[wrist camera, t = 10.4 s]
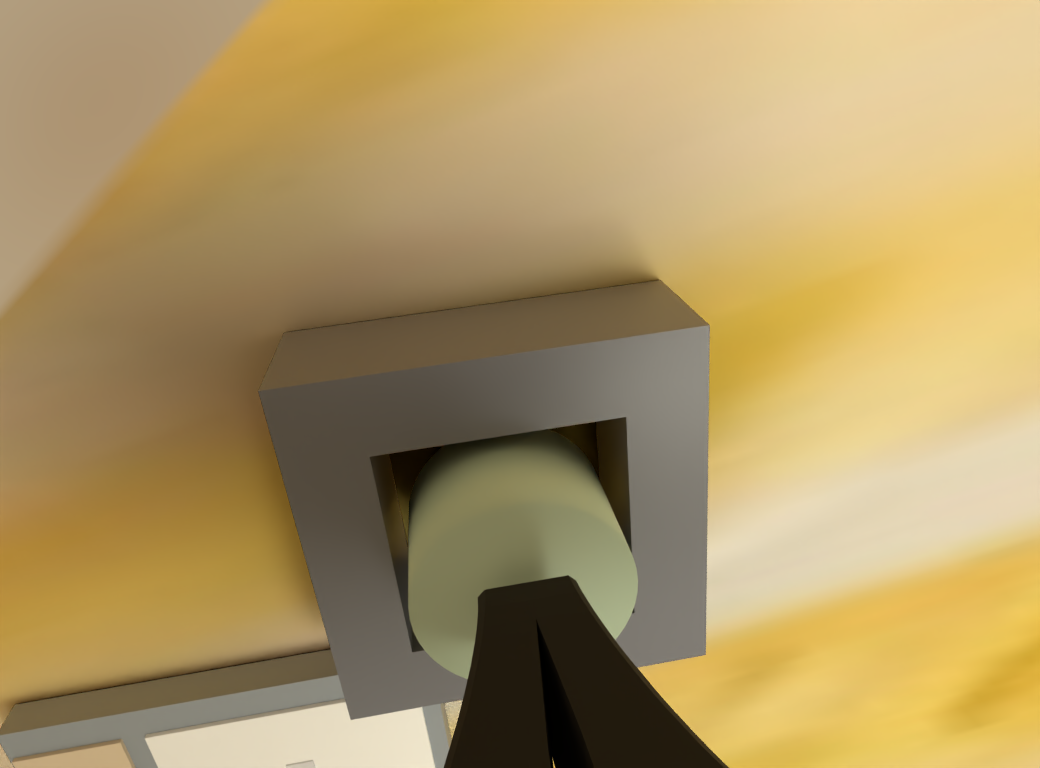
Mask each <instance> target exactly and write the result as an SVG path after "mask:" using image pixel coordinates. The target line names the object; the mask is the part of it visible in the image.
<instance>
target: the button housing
mask: <svg viewBox="0 0 1040 768" xmlns="http://www.w3.org/2000/svg"><path fill="white" fill-rule="evenodd" d="M709 334H710V325H709V324H708V323H707V322H706V321H704V320H703V319H702V318H701V317H700V316H699V315H698V314H697V313H696V312H695V311H694V310H693V309H691V308H690V307H689V306H688V305H687V304H686V303H685V302H684V301H683V300H682V299H681V298H680V297H678V296H677V295H676V294H675V293H674V292H673V291H672V290H671V289H670V288H669V287H668V286H666V285H665V284H664V283H663V282H662V281H661V280H657V281H650V282H643V283H636V284H629V285H621V286H614V287H607V288H600V289H593V290H586V291H579V292H571V293H564V294H557V295H550V296H543V297H536V298H529V299H521V300H514V301H507V302H500V303H493V304H486V305H478V306H471V307H464V308H457V309H450V310H443V311H436V312H428V313H421V314H414V315H407V316H400V317H393V318H386V319H378V320H371V321H364V322H357V323H350V324H343V325H335V326H328V327H321V328H314V329H307V330H300V331H293V332H285V333H284V334H283V336H282V338H281V341H280V343H279V345H278V347H277V350H276V352H275V354H274V356H273V359H272V361H271V363H270V365H269V368H268V370H267V372H266V375H265V377H264V379H263V381H262V384H261V386H260V388H259V390H258V392H259V396H260V399H261V403H262V406H263V410H264V414H265V417H266V421H267V424H268V428H269V431H270V435H271V438H272V442H273V446H274V449H275V453H276V456H277V460H278V463H279V467H280V470H281V474H282V478H283V481H284V485H285V488H286V492H287V495H288V499H289V502H290V506H291V510H292V513H293V517H294V520H295V524H296V527H297V531H298V534H299V538H300V542H301V545H302V549H303V552H304V556H305V559H306V563H307V566H308V570H309V574H310V577H311V581H312V584H313V588H314V591H315V595H316V598H317V602H318V606H319V609H320V613H321V616H322V620H323V623H324V627H325V630H326V634H327V637H328V641H329V645H330V648H331V652H332V655H333V659H334V662H335V666H336V669H337V673H338V677H339V680H340V684H341V687H342V691H343V694H344V698H345V701H346V705H347V709H348V712H349V716H350V719H351V720H354V719H359V718H365V717H370V716H376V715H381V714H387V713H392V712H397V711H403V710H408V709H414V708H419V707H425V706H430V705H436V704H441V703H446V702H452V701H457V700H463V697H464V693H465V689H466V684H467V680H468V679H465V678H463V677H460V676H458V675H456V674H454V673H452V672H450V671H448V670H447V669H445V668H443V667H442V666H441V665H439V664H438V663H437V662H436V661H434V660H433V659H432V658H431V657H430V656H429V655H428V654H427V653H426V652H425V650H424V649H423V647H422V646H421V645H420V643H419V642H418V640H417V638H416V636H415V634H414V632H413V629H412V626H411V622H410V617H409V610H408V545H407V540H406V535H405V530H404V525H403V520H402V515H401V510H400V506H399V501H398V496H397V491H396V486H395V481H394V476H393V471H392V466H391V462H390V457H389V454H390V453H397V452H403V451H410V450H416V449H422V448H429V447H435V446H442V445H448V444H455V443H461V442H468V441H474V440H481V439H487V438H493V437H500V436H506V435H513V434H519V433H526V432H532V431H539V430H545V429H552V428H558V427H565V426H571V425H577V424H584V423H590V422H596V430H597V446H598V462H599V478H600V483H601V485H602V487H603V490H604V492H605V494H606V496H607V499H608V501H609V503H610V506H611V508H612V510H613V512H614V515H615V517H616V519H617V521H618V524H619V526H620V528H621V531H622V533H623V535H624V537H625V540H626V542H627V544H628V546H629V549H630V551H631V553H632V556H633V558H634V561H635V565H636V568H637V576H638V592H637V597H636V602H635V606H634V609H633V611H632V614H631V616H630V618H629V620H628V622H627V624H626V626H625V627H624V629H623V630H622V632H621V633H620V635H619V636H618V637H617V638H616V642H617V643H618V644H619V646H620V647H621V648H622V650H623V651H624V652H625V653H626V655H627V656H628V657H629V659H630V660H631V661H632V662H633V663H634V665H635V666H636V667H642V666H648V665H653V664H659V663H664V662H670V661H675V660H681V659H686V658H691V657H697V656H702V655H706V581H707V498H708V416H709Z"/></svg>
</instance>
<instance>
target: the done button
mask: <svg viewBox="0 0 1040 768" xmlns="http://www.w3.org/2000/svg"><path fill="white" fill-rule="evenodd" d="M567 575H569V576H570V577H572V578H573V579H575V580H576V581H577V583H578V585H579V587H580V589H581V590H582V592H583V594H584V595H585V597H586V598H587V600H588V602H589V603H590V605H591V606H592V608H593V609H594V611H595V612H596V614H597V615H598V617H599V618H600V620H601V621H602V623H603V624H604V625H605V627H606V628H607V629H608V631H609V632H610V634H611V635H612V636H613V638H614V639H615V640H616V638H617V637H618V636H619V635H620V633H621V632H622V630H623V629H624V627H625V626H626V624H627V622H628V620H629V618H630V616H631V614H632V611H633V609H634V606H635V602H636V597H637V592H638V576H637V568H636V565H635V561H634V558H633V556H632V553H631V551H630V549H629V546H628V544H627V542H626V540H625V537H624V535H623V533H622V531H621V528H620V526H619V524H618V521H617V519H616V517H615V515H614V512H613V510H612V508H611V506H610V503H609V501H608V499H607V496H606V494H605V492H604V490H603V487H602V485H601V483H600V481H599V478H598V476H597V474H596V472H595V470H594V467H593V465H592V463H591V462H590V460H589V459H588V458H587V456H586V455H585V454H584V453H583V451H582V450H581V449H580V448H579V447H578V446H577V445H575V444H574V443H573V442H571V441H570V440H569V439H567V438H566V437H564V436H562V435H561V434H559V433H557V432H554V431H552V430H549V429H545V430H539V431H532V432H526V433H519V434H513V435H506V436H500V437H493V438H487V439H481V440H474V441H468V442H461V443H455V444H448V445H444V446H443V447H442V448H441V449H440V450H438V451H437V452H436V453H435V454H434V455H433V456H432V457H431V458H430V459H429V460H428V461H427V463H426V464H425V466H424V467H423V468H422V470H421V471H420V473H419V475H418V477H417V479H416V480H415V483H414V486H413V488H412V491H411V495H410V500H409V531H408V610H409V617H410V622H411V626H412V629H413V632H414V634H415V636H416V638H417V640H418V642H419V643H420V645H421V646H422V647H423V649H424V650H425V652H426V653H427V654H428V655H429V656H430V657H431V658H432V659H433V660H434V661H436V662H437V663H438V664H439V665H441V666H442V667H443V668H445V669H447V670H448V671H450V672H452V673H454V674H456V675H458V676H460V677H463V678H465V679H468V676H469V671H470V667H471V661H472V656H473V650H474V644H475V637H476V630H477V618H478V596H479V595H480V594H481V593H482V592H483V591H484V590H485V589H491V588H497V587H503V586H509V585H514V584H520V583H526V582H532V581H538V580H544V579H549V578H555V577H561V576H567Z"/></svg>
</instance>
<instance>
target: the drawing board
mask: <svg viewBox="0 0 1040 768" xmlns="http://www.w3.org/2000/svg"><path fill="white" fill-rule="evenodd" d="M451 741H452V739H451V734H450V729H449V724H448V719H447V714H446V709H445V704H444V703H441V704H436V705H430V706H425V707H419V708H414V709H408V710H403V711H397V712H392V713H387V714H381V715H376V716H370V717H365V718H359V719H354V720H351V719H350V716H349V712H348V709H347V705H346V701H345V698H344V694H343V691H342V687H341V684H340V680H339V677H338V673H337V669H336V666H335V662H334V659H333V655H332V652H331V649H330V650H324V651H318V652H312V653H307V654H301V655H295V656H290V657H284V658H278V659H273V660H267V661H261V662H255V663H250V664H244V665H238V666H233V667H227V668H221V669H216V670H210V671H204V672H198V673H193V674H187V675H181V676H176V677H170V678H164V679H159V680H153V681H147V682H141V683H136V684H130V685H124V686H119V687H113V688H107V689H102V690H96V691H90V692H84V693H79V694H73V695H67V696H62V697H56V698H50V699H45V700H39V701H33V702H27V703H22V704H16V705H14V707H13V708H12V710H11V712H10V713H9V715H8V716H7V718H6V720H5V721H4V723H3V725H2V726H1V728H0V744H1V746H2V748H3V750H4V751H5V753H6V755H7V756H8V758H9V760H10V762H11V763H12V765H13V767H14V768H444V764H445V761H446V758H447V754H448V751H449V748H450V745H451Z"/></svg>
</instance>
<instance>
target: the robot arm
mask: <svg viewBox="0 0 1040 768" xmlns="http://www.w3.org/2000/svg"><path fill="white" fill-rule="evenodd" d="M552 757H553V760H552ZM553 761H554V764H555V768H729V767H727V766H726V765H725V764H724V763H723V762H722V761H721V760H720V759H719V758H718V757H717V756H716V755H715V754H714V753H713V752H712V751H711V750H710V749H709V748H708V747H707V746H706V745H705V744H704V742H703V741H702V740H701V739H700V738H699V737H698V736H697V735H696V734H695V733H694V732H693V731H692V730H691V729H690V728H689V727H688V726H687V725H686V723H685V722H684V721H683V720H682V719H681V718H680V717H679V716H678V715H677V714H676V713H675V712H674V710H673V709H672V708H671V707H670V706H669V705H668V704H667V703H666V701H665V700H664V699H663V698H662V697H661V696H660V695H659V694H658V692H657V691H656V690H655V689H654V688H653V686H652V685H651V684H650V683H649V682H648V680H647V679H646V678H645V677H644V676H643V674H642V673H641V672H640V671H639V669H638V668H637V667H636V666H635V665H634V663H633V662H632V661H631V660H630V659H629V657H628V656H627V655H626V653H625V652H624V651H623V650H622V648H621V647H620V646H619V644H618V643H617V642H616V640H615V639H614V638H613V636H612V635H611V634H610V632H609V631H608V629H607V628H606V627H605V625H604V624H603V623H602V621H601V620H600V618H599V617H598V615H597V614H596V612H595V611H594V609H593V608H592V606H591V605H590V603H589V602H588V600H587V598H586V597H585V595H584V594H583V592H582V590H581V589H580V587H579V585H578V583H577V581H576V580H575V579H573V578H572V577H570V576H569V575H567V576H561V577H555V578H549V579H544V580H538V581H532V582H526V583H520V584H514V585H509V586H503V587H497V588H491V589H485V590H484V591H483V592H482V593H481V594H480V595H479V596H478V618H477V630H476V637H475V644H474V650H473V656H472V661H471V667H470V671H469V676H468V680H467V684H466V689H465V693H464V697H463V701H462V706H461V710H460V714H459V718H458V721H457V725H456V728H455V732H454V735H453V738H452V741H451V745H450V748H449V751H448V754H447V758H446V761H445V764H444V768H553Z"/></svg>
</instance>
